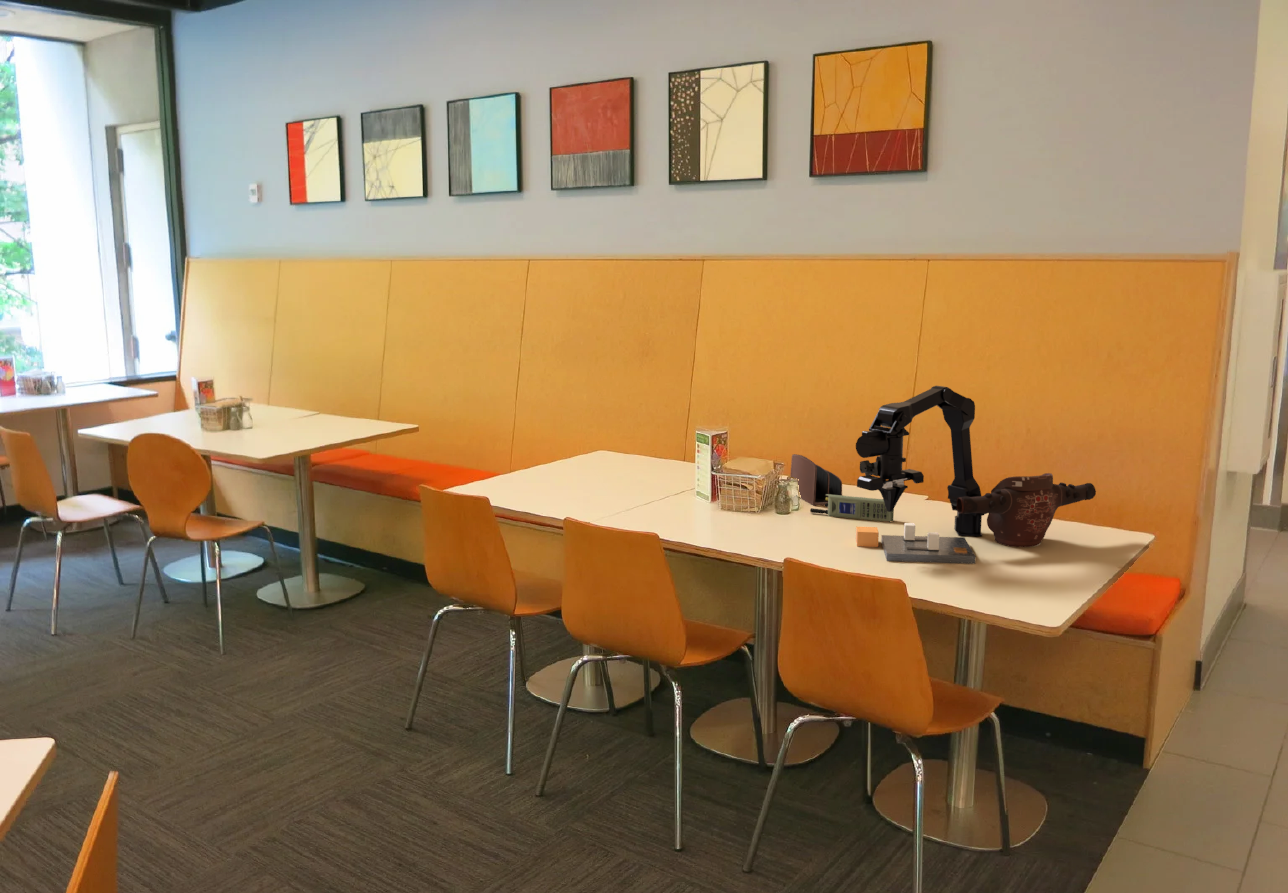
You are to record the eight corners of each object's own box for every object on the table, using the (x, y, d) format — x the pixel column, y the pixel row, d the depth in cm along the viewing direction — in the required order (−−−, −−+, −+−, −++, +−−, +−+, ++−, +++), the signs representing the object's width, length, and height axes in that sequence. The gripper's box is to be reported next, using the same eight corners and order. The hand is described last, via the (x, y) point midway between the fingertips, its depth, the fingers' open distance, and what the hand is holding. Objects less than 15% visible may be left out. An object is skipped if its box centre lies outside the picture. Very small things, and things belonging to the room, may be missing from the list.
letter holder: (813, 506, 330) (814, 462, 327) (789, 493, 349) (790, 451, 346) (842, 504, 332) (843, 460, 330) (817, 491, 351) (818, 449, 349)
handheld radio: (891, 523, 309) (808, 515, 319) (893, 521, 312) (811, 513, 322) (892, 501, 308) (809, 494, 318) (894, 499, 311) (812, 492, 321)
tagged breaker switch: (937, 547, 274) (938, 532, 274) (938, 550, 272) (939, 535, 271) (927, 546, 275) (927, 532, 274) (928, 549, 272) (928, 534, 271)
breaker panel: (964, 544, 285) (964, 536, 284) (975, 563, 267) (975, 555, 267) (881, 542, 288) (881, 534, 288) (886, 560, 270) (887, 552, 270)
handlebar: (1071, 530, 299) (1075, 461, 295) (1105, 541, 287) (1110, 469, 284) (940, 546, 283) (943, 474, 279) (970, 559, 271) (974, 483, 268)
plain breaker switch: (913, 537, 284) (914, 523, 283) (914, 540, 281) (915, 525, 281) (903, 537, 284) (904, 522, 283) (904, 539, 282) (905, 525, 281)
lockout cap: (876, 541, 289) (877, 527, 288) (878, 546, 283) (878, 532, 283) (855, 540, 290) (856, 526, 289) (857, 546, 284) (857, 531, 284)
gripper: (896, 445, 286) (894, 501, 289) (843, 452, 277) (842, 510, 279) (926, 451, 276) (924, 509, 279) (872, 459, 267) (871, 518, 270)
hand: (889, 511), depth 277 cm, fingers closed
